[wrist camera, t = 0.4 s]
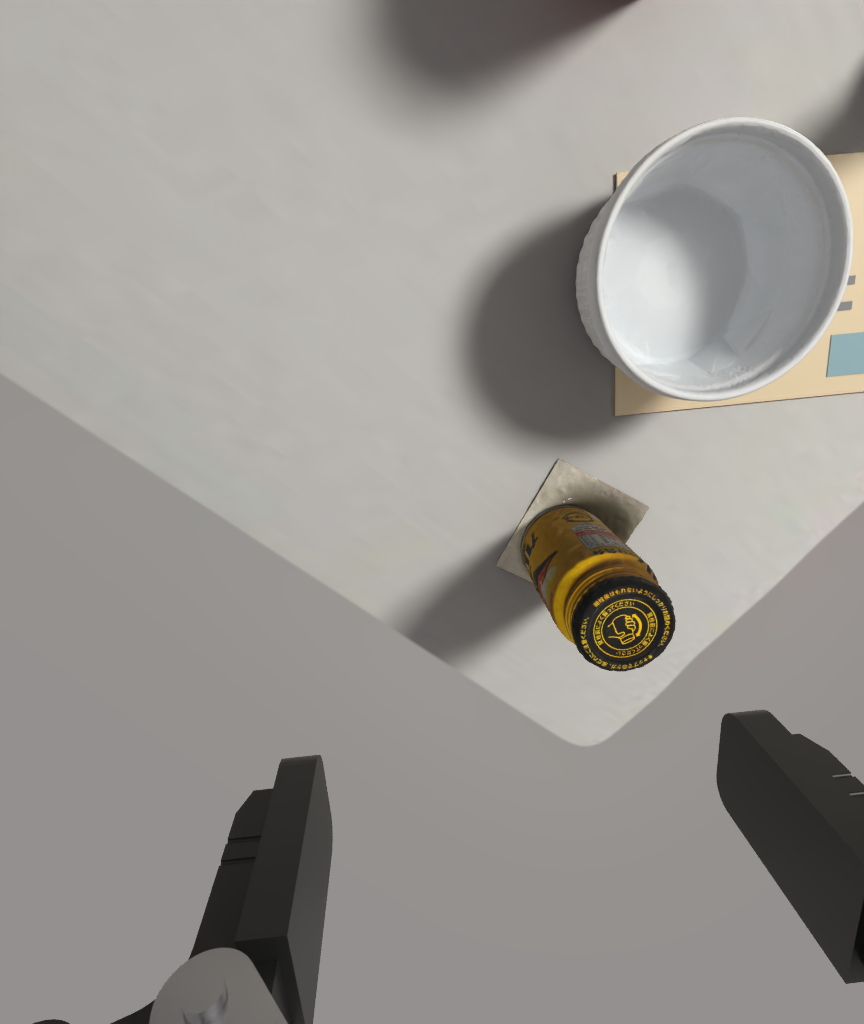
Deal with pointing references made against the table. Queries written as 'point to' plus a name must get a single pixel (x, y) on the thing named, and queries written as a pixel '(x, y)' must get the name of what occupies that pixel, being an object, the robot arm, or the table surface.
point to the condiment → (592, 570)
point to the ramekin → (717, 260)
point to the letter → (834, 359)
